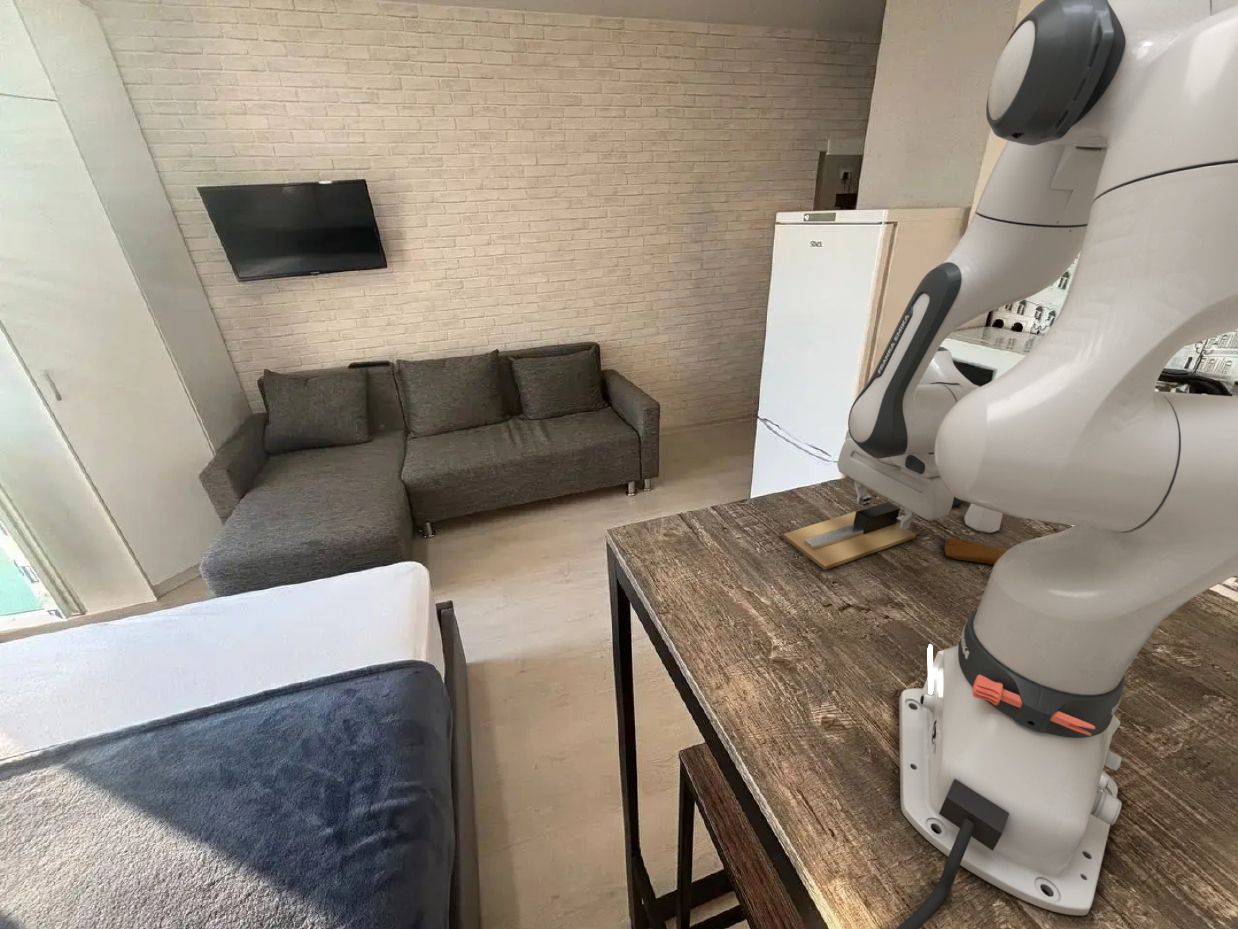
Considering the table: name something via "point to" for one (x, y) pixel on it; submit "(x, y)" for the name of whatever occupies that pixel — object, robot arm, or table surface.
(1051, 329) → the robot arm
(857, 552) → the cutting board
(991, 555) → the primitive tool
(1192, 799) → the table surface
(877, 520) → the knife
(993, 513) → the pepper shaker
